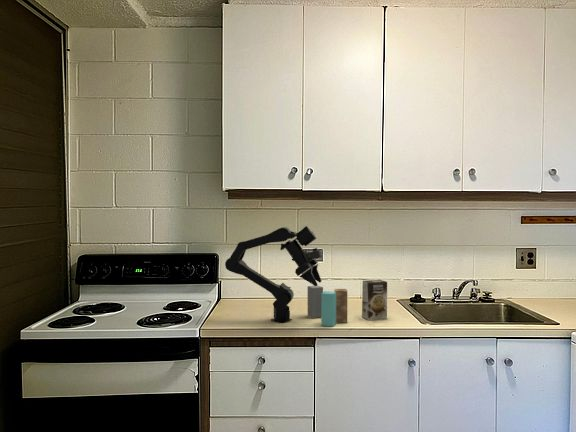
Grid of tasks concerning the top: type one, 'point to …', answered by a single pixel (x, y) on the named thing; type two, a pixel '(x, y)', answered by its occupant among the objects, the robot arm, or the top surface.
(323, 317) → the teal block
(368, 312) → the coffee box
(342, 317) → the walnut block
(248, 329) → the top surface
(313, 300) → the charcoal block
